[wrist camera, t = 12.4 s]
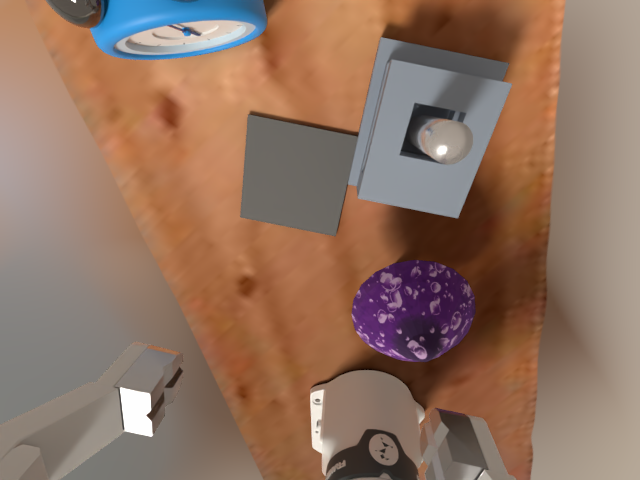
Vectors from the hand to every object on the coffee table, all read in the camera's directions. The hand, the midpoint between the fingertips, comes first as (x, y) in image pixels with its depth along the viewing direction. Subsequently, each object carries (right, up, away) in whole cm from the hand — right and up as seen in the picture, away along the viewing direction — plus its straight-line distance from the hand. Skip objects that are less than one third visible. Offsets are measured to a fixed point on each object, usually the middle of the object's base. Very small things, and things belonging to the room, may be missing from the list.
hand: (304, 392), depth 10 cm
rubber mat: (-2, +12, +26) cm, 29 cm away
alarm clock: (-10, +27, +20) cm, 35 cm away
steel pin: (+11, +16, +22) cm, 29 cm away
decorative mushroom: (+11, +1, +30) cm, 32 cm away
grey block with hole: (+11, +17, +23) cm, 30 cm away
